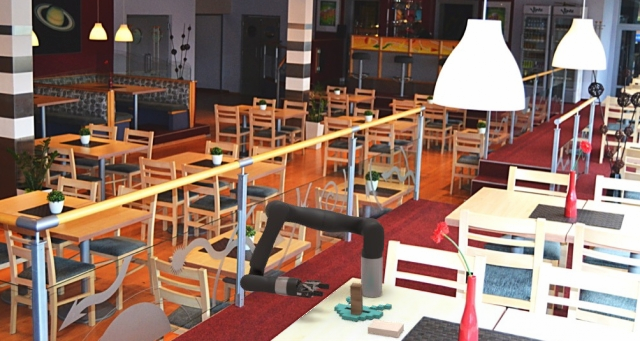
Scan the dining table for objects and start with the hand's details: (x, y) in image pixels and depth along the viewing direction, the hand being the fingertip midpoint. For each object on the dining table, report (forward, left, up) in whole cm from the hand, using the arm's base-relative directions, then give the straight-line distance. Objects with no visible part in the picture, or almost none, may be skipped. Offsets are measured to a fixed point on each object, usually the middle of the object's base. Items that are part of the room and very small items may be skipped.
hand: (326, 290), depth 332 cm
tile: (+9, +21, -10) cm, 24 cm away
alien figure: (-7, +12, -12) cm, 18 cm away
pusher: (-2, +12, -9) cm, 15 cm away
